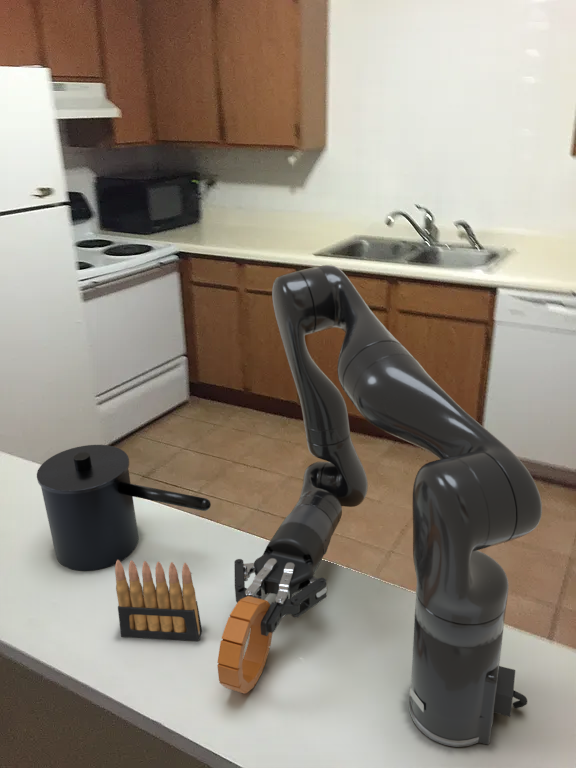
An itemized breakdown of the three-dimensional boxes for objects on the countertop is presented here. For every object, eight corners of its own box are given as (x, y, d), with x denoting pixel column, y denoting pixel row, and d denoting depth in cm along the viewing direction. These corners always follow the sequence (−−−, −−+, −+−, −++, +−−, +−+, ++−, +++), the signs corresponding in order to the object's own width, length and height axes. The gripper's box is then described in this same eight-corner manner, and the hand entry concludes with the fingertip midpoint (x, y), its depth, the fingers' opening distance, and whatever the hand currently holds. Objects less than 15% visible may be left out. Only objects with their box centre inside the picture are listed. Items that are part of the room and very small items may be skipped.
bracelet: (275, 647, 86) (271, 583, 82) (241, 712, 78) (235, 644, 73) (256, 642, 87) (252, 579, 83) (221, 706, 78) (214, 638, 74)
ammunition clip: (202, 630, 90) (194, 558, 85) (199, 641, 88) (190, 567, 83) (125, 626, 91) (113, 555, 86) (120, 636, 89) (108, 564, 84)
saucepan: (235, 545, 106) (228, 456, 100) (194, 602, 95) (183, 505, 88) (88, 513, 116) (73, 429, 109) (35, 561, 104) (14, 471, 98)
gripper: (254, 512, 97) (197, 590, 82) (347, 530, 92) (304, 616, 77) (257, 554, 100) (202, 636, 85) (347, 574, 95) (306, 665, 80)
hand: (251, 626), depth 81 cm, fingers closed on bracelet, 2 cm apart
